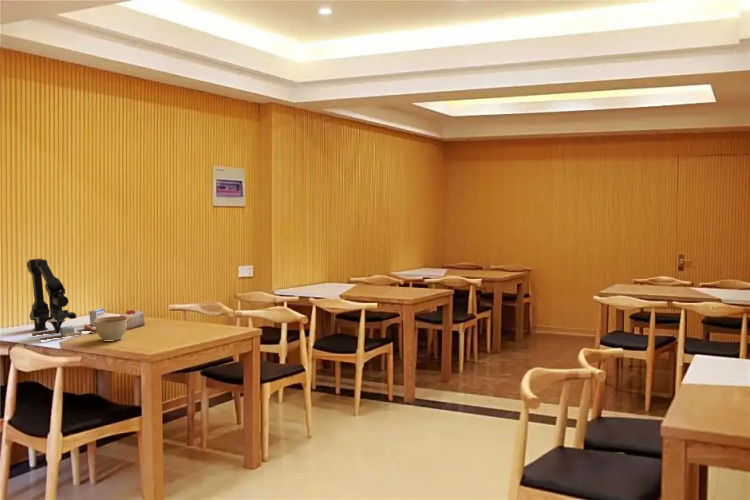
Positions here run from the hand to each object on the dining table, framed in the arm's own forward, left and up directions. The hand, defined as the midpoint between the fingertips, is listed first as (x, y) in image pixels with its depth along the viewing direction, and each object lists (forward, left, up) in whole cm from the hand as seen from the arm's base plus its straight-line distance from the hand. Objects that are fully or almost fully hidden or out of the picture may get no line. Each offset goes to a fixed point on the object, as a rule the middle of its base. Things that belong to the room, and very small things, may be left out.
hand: (57, 333), depth 374 cm
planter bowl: (+30, +18, -2) cm, 35 cm away
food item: (+8, +37, -2) cm, 38 cm away
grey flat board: (0, +4, -1) cm, 4 cm away
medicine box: (-14, +25, -2) cm, 29 cm away
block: (+1, +5, -2) cm, 5 cm away
